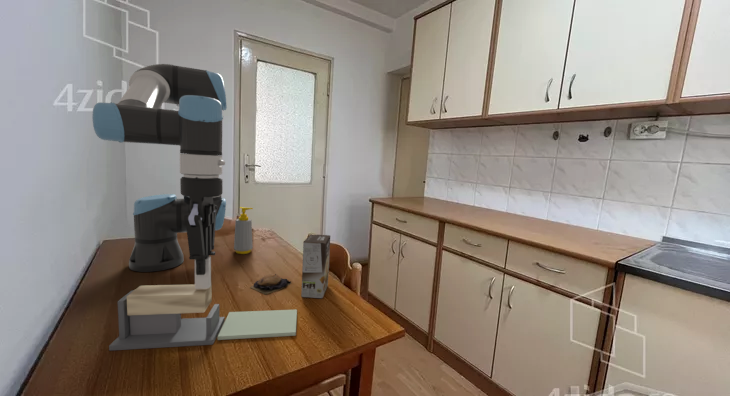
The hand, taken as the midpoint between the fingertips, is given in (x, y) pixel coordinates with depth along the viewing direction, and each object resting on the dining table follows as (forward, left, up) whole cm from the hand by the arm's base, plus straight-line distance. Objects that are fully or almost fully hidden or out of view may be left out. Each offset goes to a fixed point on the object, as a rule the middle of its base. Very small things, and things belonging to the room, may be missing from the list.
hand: (203, 286), depth 64 cm
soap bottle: (-56, -2, -11) cm, 57 cm away
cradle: (0, -6, -11) cm, 12 cm away
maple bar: (0, -6, -5) cm, 8 cm away
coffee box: (-19, +25, -11) cm, 33 cm away
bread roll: (-24, +12, -11) cm, 29 cm away
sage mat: (-2, +12, -11) cm, 16 cm away
